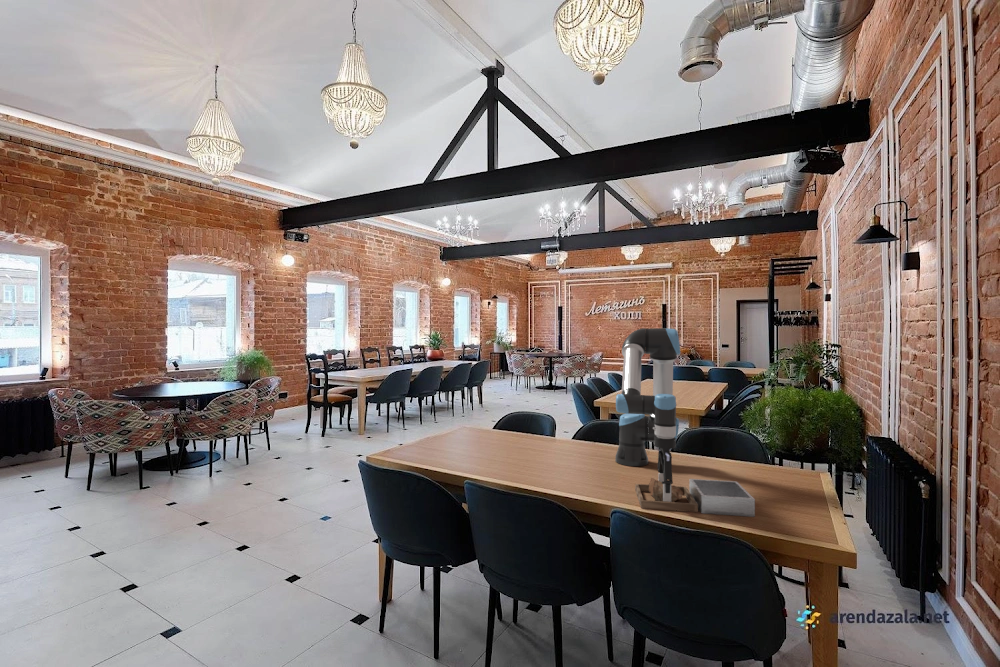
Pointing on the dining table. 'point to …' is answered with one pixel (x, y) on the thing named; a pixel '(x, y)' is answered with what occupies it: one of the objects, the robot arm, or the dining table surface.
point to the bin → (722, 497)
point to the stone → (657, 491)
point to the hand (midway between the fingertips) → (664, 495)
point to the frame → (662, 505)
